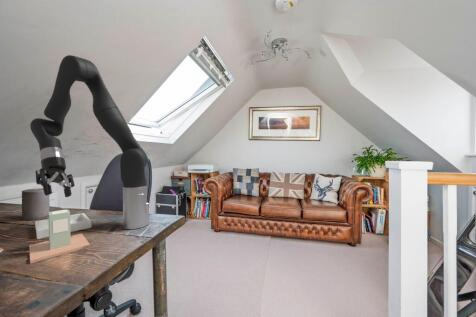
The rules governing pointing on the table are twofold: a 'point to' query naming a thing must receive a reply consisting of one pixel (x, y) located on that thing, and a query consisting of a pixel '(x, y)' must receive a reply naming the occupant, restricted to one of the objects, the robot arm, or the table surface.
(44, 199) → the pillar candle
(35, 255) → the terracotta tile
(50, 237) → the sage box
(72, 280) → the table surface
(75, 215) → the grey bin
